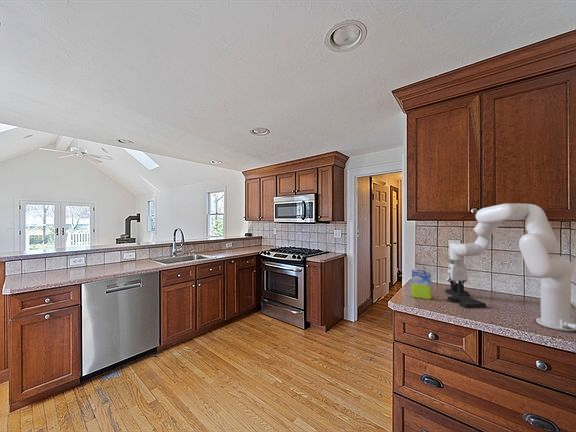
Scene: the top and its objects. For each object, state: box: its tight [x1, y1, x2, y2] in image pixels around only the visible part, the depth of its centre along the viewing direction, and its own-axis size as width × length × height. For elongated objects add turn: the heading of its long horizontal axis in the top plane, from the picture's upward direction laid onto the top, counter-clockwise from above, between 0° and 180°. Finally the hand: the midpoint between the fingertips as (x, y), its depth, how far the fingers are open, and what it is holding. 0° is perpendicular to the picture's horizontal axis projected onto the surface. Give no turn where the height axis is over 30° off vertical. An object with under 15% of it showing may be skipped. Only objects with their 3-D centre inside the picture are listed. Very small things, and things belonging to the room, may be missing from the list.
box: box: [411, 268, 432, 301], centre depth 158 cm, size 10×4×17 cm, turn 54°
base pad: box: [447, 295, 487, 309], centre depth 147 cm, size 14×12×2 cm
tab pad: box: [445, 282, 471, 298], centre depth 164 cm, size 12×10×7 cm
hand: (457, 290), depth 164 cm, fingers closed on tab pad, 3 cm apart
